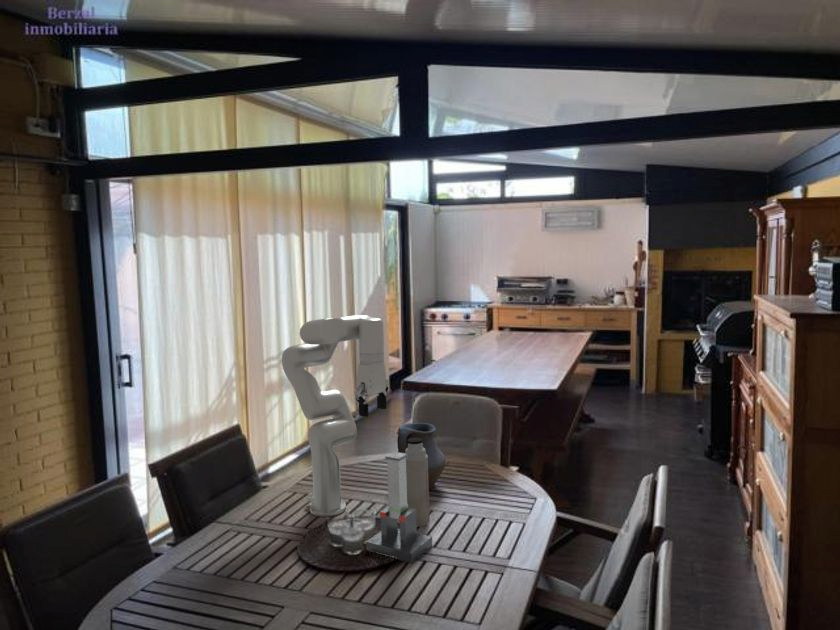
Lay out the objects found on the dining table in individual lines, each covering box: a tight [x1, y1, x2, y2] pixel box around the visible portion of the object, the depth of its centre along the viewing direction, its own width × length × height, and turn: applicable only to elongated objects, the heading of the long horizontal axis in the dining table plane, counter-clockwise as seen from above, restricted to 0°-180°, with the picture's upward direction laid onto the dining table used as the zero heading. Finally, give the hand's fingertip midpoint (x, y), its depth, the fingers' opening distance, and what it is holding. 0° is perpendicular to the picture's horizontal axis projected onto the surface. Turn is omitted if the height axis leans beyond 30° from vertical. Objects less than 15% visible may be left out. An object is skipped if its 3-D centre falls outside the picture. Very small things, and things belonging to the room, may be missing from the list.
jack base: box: [365, 506, 433, 564], centre depth 189 cm, size 16×12×12 cm
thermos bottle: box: [405, 438, 431, 528], centre depth 207 cm, size 8×8×28 cm
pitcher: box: [396, 422, 447, 490], centre depth 237 cm, size 21×22×25 cm
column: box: [384, 451, 408, 520], centre depth 188 cm, size 5×5×19 cm
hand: (372, 412), depth 196 cm, fingers open, 9 cm apart
